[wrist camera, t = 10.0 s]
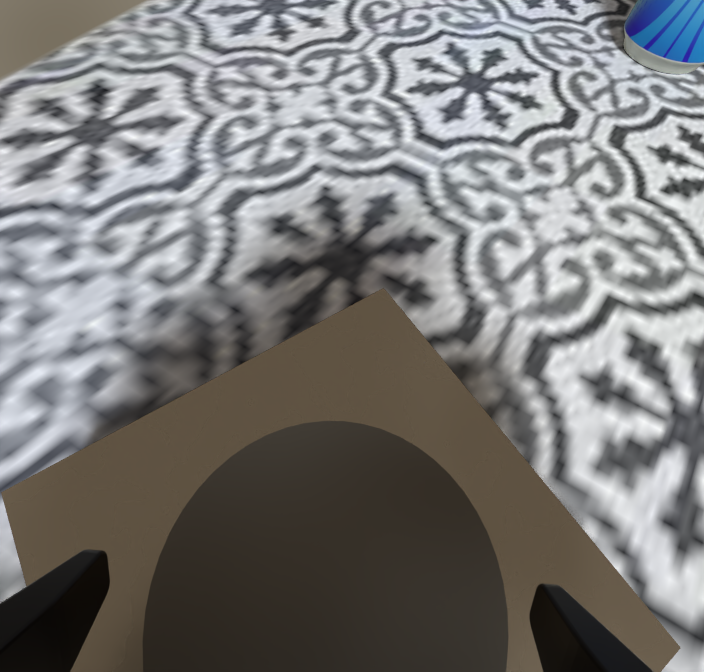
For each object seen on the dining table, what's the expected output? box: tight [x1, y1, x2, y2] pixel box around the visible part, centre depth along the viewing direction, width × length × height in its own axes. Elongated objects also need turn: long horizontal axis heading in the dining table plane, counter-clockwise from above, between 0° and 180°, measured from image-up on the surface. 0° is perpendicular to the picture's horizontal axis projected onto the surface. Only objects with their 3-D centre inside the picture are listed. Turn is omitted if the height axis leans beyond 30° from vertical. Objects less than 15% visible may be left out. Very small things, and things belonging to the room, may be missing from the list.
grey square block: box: [1, 288, 680, 672], centre depth 15 cm, size 16×16×4 cm
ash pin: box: [143, 421, 509, 672], centre depth 11 cm, size 5×5×13 cm
